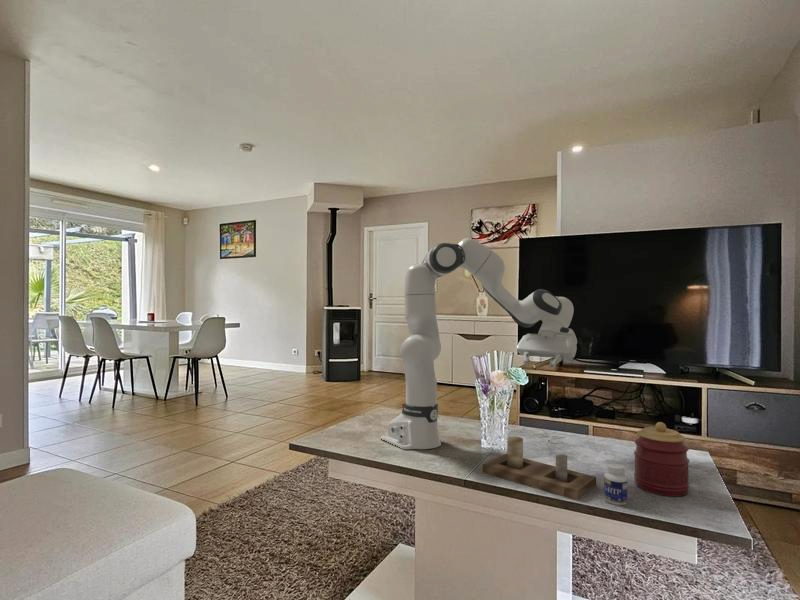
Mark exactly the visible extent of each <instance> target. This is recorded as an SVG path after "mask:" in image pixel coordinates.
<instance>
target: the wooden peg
mask: <svg viewBox="0 0 800 600" xmlns="http://www.w3.org/2000/svg"><path fill="white" fill-rule="evenodd" d="M506 445H507V450H506V451H507V452H506V454H507V467H511V468H515V469H518V470H521V469H523V458H524V438H523V437H520V436H514V435H513V436H512V435H510V436H508V437H507V444H506Z"/></svg>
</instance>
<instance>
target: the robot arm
mask: <svg viewBox="0 0 800 600" xmlns="http://www.w3.org/2000/svg"><path fill="white" fill-rule="evenodd" d="M458 268H462V269H463V270H466V271H467V272H469V274H471V275H473V276H474V277H475V278H476V279H477V280H478V281H479V282H480V283H481V286H482V288H483V290H484V291H485V293H487V294H488V296H490V298H492V299H493V301H495V302H496V303H497V304H498V305H499V306H500V307H501V308H502V309H503V310H504V311H506V313H508V315H509V316H510V318H512V320H513V322H514V323H516V325H518V326H520V327H521V328H531V327H533V326H535V324H536V323H538V322H539V321H541V322H542V323H541V326H540V328H539V330H538V332H537V333H527V334H525V335H523V336H522V338H521V339H520V340H519V341H518V343H517V344H516V350H517V353H518V354H519V355H520V356H523V357H524V359H523V364H524V365H526V366H528V365H529V366H530V363H531V360H530V357H536V358H537V357H539V358H540V357H541V358H548V359H549V358H550V362H549V366H550V368H556V367H557V364H559V363H560V362H562V360H572V359H574V358H575V357H576V353H577V349H578V348H577V344H578V339H577V337H576V334H575V332H574V330H573V329H572V328H569V327H570V325H571V322H572V319H573V316H574V310H575V307H574V305H573V303H572V301H571V300H570V299H569V298H567V297H565V296H556V295H554V294H553V293H551V292H550V291H548V290H546V289H544V288H543V289H542V288H540V289H539V288H538V289H536V290H535V291H533V292H532V293H530V294H529V295H528V296H526V297H525V298H524V299H522V300H520V299H517V298H516V297H515V296H514V295H512V293H511V292H510V291H508V290H507V289H506V287H505V286H504V285H503V282H502V280H503V277H504V274H505V263H504V260H503V258H502V257H501V256H500V255H499V254H498V253H496V252H495V251H493V250H492V249H491V248H489V247H488V246H487V245H485V244H483V243H481V242H479V241H478V240H475V239H473V238H470V237H465V238H463V239H461V240H460V241H459V242H458V243H449V242H442V243H438V244H436V245H434V246H433V247H431V248H430V249H429V250H428V252H427V254H426V255H425V256H424V258H423V260H422V262H421V263H417V264H413V265H411V266H409V267H408V268H407V269H406V272H405V279H404V290H403V291H404V317H405V320H406V323H407V327H408V331H409V336H408V337H406V339H405V340H404V341H403V342H402V344H401V346H400V348H399V349H400V350H399V352H400V353H399V354H400V357H401V359H402V364H403V370H404V378H405V402H404V403H402V404H400V407H399V408H400V409H401V408H402V410H401V413H400V414H399V415H397V416H395V417H394V418H393V419H392V420H390V422H389V423H388V426H387V431H386V433H383V435H381V436H380V440H381V439H382V440H381V441H383V440H385V441H387V442H386V443H388V442H389V443H388V444H390V443H391V444H390V445H392V444H393V445H392V446H395V445H396V446H395V447H397V446H398V447H397V448H399V447H400V448H399V449H401V448H402V450H429V449H435V448H438V447H440V446H441V445H442V442H441V438H440V433H439V425H438V417H439V416H438V415H439V404H438V399H437V398H438V395H437V394H438V381H437V378H436V373H435V365H434V361H436V359H438V357H439V355H440V353H441V350H442V345H441V339H440V332H439V327H438V321H437V307H436V306H437V305H436V304H437V303H436V288H435V286H436V281H437V279H438V278H441V277H443V276H448V275H449V274H451V273H452V272H454V271H456V269H458ZM385 441H384V442H385Z"/></svg>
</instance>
